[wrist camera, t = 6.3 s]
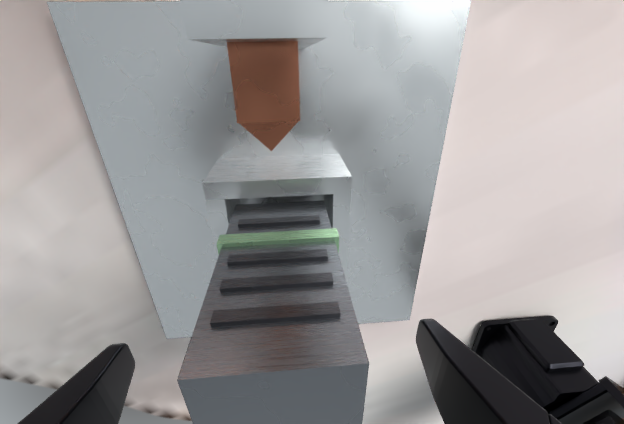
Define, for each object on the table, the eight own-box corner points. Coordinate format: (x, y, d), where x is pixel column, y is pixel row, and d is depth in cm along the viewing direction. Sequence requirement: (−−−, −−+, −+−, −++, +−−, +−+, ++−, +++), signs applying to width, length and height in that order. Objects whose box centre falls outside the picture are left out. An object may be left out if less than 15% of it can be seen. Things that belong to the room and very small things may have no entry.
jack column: (326, 271, 15) (363, 459, 8) (243, 276, 15) (206, 475, 8) (326, 197, 13) (376, 358, 6) (231, 201, 13) (167, 376, 6)
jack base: (404, 309, 23) (467, 439, 15) (171, 327, 22) (107, 478, 14) (459, 3, 14) (687, -68, 6) (63, 6, 13) (-295, -80, 5)
